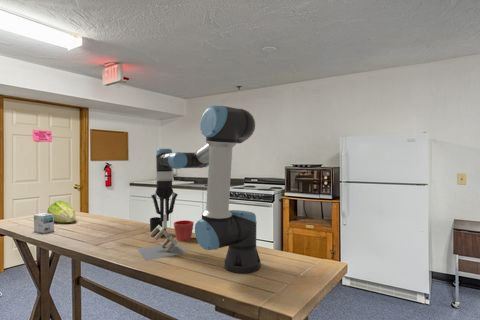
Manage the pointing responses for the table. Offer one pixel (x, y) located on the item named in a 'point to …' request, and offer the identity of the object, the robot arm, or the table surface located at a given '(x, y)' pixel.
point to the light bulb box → (43, 223)
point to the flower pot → (183, 230)
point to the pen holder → (155, 224)
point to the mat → (160, 251)
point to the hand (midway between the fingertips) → (164, 227)
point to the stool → (163, 231)
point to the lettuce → (62, 212)
